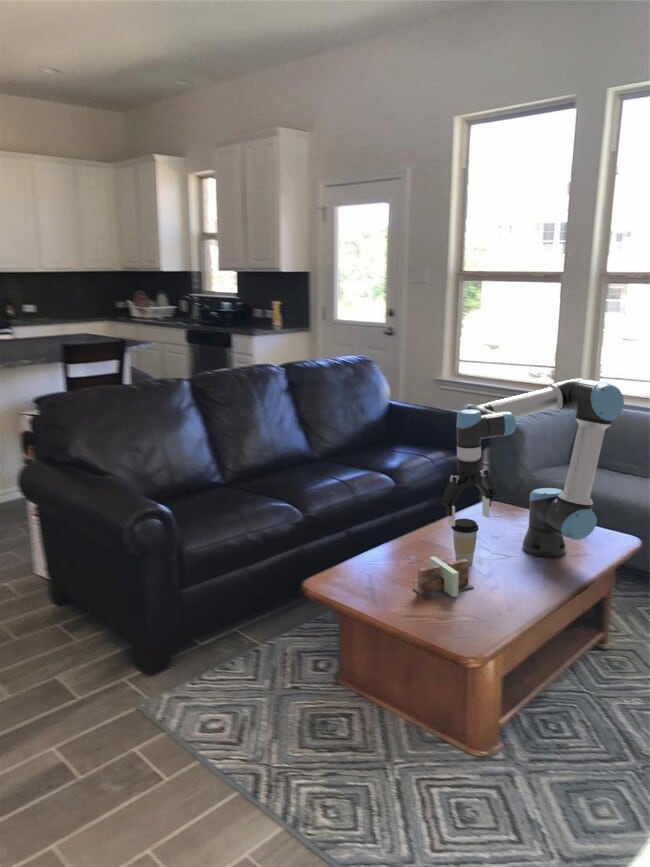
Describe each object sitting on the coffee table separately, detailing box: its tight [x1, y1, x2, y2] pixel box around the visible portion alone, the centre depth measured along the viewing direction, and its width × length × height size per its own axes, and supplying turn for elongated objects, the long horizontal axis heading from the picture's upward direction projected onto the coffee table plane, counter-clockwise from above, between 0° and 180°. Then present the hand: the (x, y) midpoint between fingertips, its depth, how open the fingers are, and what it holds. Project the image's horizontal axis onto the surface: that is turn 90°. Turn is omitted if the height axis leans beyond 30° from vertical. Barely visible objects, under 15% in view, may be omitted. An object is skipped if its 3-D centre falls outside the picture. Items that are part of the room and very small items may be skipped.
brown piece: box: [412, 559, 474, 601], centre depth 226 cm, size 18×8×9 cm, turn 113°
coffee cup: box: [450, 518, 479, 566], centre depth 245 cm, size 9×9×15 cm
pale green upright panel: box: [428, 556, 459, 598], centre depth 226 cm, size 14×2×8 cm, turn 23°
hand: (469, 520), depth 226 cm, fingers open, 13 cm apart
